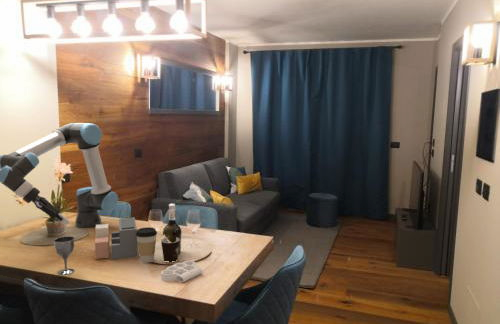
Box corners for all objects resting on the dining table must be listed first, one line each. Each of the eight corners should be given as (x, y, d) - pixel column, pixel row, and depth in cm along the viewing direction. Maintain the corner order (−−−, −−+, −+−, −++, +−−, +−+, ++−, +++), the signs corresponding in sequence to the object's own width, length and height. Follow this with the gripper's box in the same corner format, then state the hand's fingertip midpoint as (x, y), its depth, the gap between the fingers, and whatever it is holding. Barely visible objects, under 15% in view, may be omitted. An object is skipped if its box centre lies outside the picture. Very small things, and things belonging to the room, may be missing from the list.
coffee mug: (169, 265, 186) (169, 244, 185) (157, 260, 191) (157, 240, 190) (188, 257, 195) (187, 238, 194) (176, 253, 200) (175, 234, 199)
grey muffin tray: (178, 287, 164) (154, 278, 173) (207, 272, 179) (184, 265, 187) (177, 279, 164) (153, 270, 172) (207, 265, 178) (184, 258, 187)
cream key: (96, 247, 208) (95, 224, 206) (109, 246, 210) (108, 223, 208) (96, 251, 201) (95, 228, 200) (109, 250, 203) (108, 227, 202)
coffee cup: (150, 255, 198) (150, 225, 196) (161, 260, 191) (161, 230, 189) (132, 260, 191) (131, 229, 189) (143, 266, 185) (142, 234, 183)
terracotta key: (96, 253, 199) (95, 238, 198) (108, 252, 201) (108, 237, 199) (95, 258, 192) (94, 242, 191) (108, 257, 194) (108, 241, 193)
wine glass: (53, 271, 177) (51, 239, 175) (71, 266, 183) (69, 235, 181) (60, 277, 172) (58, 243, 170) (78, 271, 178) (77, 239, 176)
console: (111, 244, 213) (110, 218, 211) (135, 242, 216) (134, 216, 215) (111, 259, 192) (110, 230, 190) (137, 257, 196) (136, 228, 194)
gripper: (24, 195, 197) (63, 225, 204) (18, 201, 185) (60, 233, 192) (36, 184, 198) (74, 214, 205) (31, 189, 186) (72, 221, 193)
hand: (67, 223), depth 199 cm, fingers closed
